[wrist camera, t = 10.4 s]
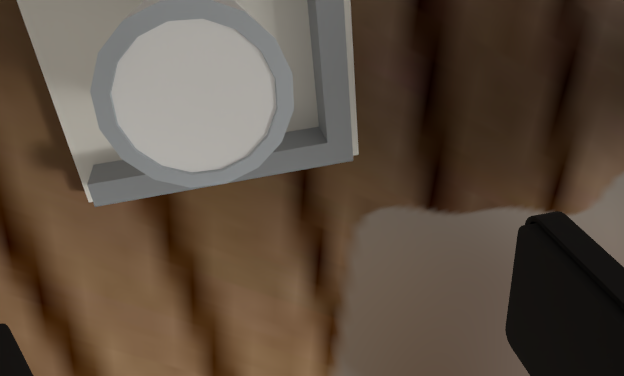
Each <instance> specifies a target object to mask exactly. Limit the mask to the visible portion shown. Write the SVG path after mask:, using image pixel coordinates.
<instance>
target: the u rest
mask: <svg viewBox="0 0 624 376" xmlns="http://www.w3.org/2000/svg"><path fill="white" fill-rule="evenodd" d="M143 1H144V0H17V3H18V6H19V9H20V11H21V14H22V17H23V20H24V22H25V25H26V28H27V31H28V34H29V36H30V39H31V42H32V45H33V48H34V50H35V53H36V56H37V59H38V62H39V64H40V67H41V70H42V73H43V76H44V78H45V81H46V84H47V87H48V90H49V92H50V95H51V98H52V101H53V104H54V106H55V109H56V112H57V115H58V118H59V120H60V123H61V126H62V129H63V132H64V134H65V137H66V140H67V143H68V145H69V148H70V151H71V154H72V157H73V159H74V162H75V165H76V168H77V171H78V173H79V176H80V179H81V182H82V185H83V187H84V190H85V193H86V196H87V199H88V201H89V202H93V203H94V206H95V207H97V206H103V205H108V204H114V203H119V202H125V201H131V200H136V199H142V198H147V197H153V196H159V195H164V194H170V193H175V192H181V191H187V190H192V189H198V188H203V187H209V186H201V187H193V188H189V187H185V186H180V185H176V184H171V183H167V182H162V181H158V180H154V179H152V178H151V177H149V176H148V175H146V174H144V173H143V172H141V171H140V170H138V169H136V168H135V167H133V166H132V165H130V164H128V163H127V162H125V161H124V160H122V159H121V157H120V156H119V155H118V153H117V152H116V151H115V149H114V148H113V147H112V145H111V144H110V143H109V141H108V140H107V139H106V137H105V136H104V135H103V133H102V132H101V131H100V129H99V126H98V122H97V118H96V113H95V109H94V105H93V101H92V97H91V93H90V90H91V85H92V80H93V75H94V70H95V65H96V60H97V55H98V52H99V51H100V49H101V48H102V47H103V46H104V44H105V43H106V42H107V40H108V39H109V38H110V36H111V35H112V34H113V32H114V31H115V30H116V28H117V27H118V26H119V25H120V23H121V22H122V21H123V20H124V19H125V18H126V17H127V16H128V15H129V14H130V13H131V12H132V11H133V10H134V9H135V8H137V7H138V6H139V5H140V4H141V3H142V2H143ZM234 1H235V2H237V3H238V4H239V5H240V6H241V7H242V8H243V9H244V10H246V11H247V12H248V13H249V14H250V15H251V16H252V17H253V18H254V19H255V20H256V21H257V22H258V23H259V24H261V25H262V26H263V27H264V28H265V29H266V30H267V31H268V32H269V33H270V34H271V35H272V36H273V37H274V38H276V40H277V42H278V44H279V46H280V49H281V51H282V53H283V55H284V57H285V59H286V61H287V63H288V65H289V67H290V69H291V71H292V74H293V95H294V111H293V114H292V116H291V119H290V122H289V124H288V127H287V130H286V132H285V135H284V138H283V141H282V142H281V144H280V145H279V146H278V147H277V148H276V149H275V150H274V151H273V152H272V153H271V154H270V156H269V157H268V158H267V159H266V160H265V161H264V162H263V163H262V164H261V165H260V166H259V168H257V169H255V170H253V171H251V172H249V173H247V174H245V175H243V176H241V177H239V178H237V179H235V180H233V181H231V182H237V181H242V180H248V179H254V178H259V177H265V176H270V175H276V174H282V173H287V172H293V171H298V170H304V169H310V168H315V167H321V166H326V165H332V164H338V163H343V162H349V161H353V156H354V155H359V151H358V132H357V114H356V95H355V76H354V58H353V39H352V20H351V2H350V0H234ZM231 182H229V183H231ZM218 185H220V184H218ZM210 186H215V185H210Z"/></svg>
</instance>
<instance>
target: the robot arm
mask: <svg viewBox="0 0 624 376" xmlns="http://www.w3.org/2000/svg"><path fill="white" fill-rule="evenodd" d="M507 313H508V314H507V321H506V335H507V339H508V342H509V344H510V346H511V347H512V349H513V351H514V352H515V354H516V355H517V356H518V358H519V359H520V361H521V362H522V364H523V365H524V367H525V368H526V370H527V371H528V373H529V374H530V376H624V267H623V266H622V265H620V264H619V263H618V262H617V261H616V260H615V259H614V258H613V257H612V256H611V255H609V254H608V253H607V252H606V251H605V250H604V249H603V248H602V247H601V246H600V245H598V244H597V243H596V242H595V241H594V240H593V239H592V238H591V237H590V236H588V235H587V234H586V233H585V232H584V231H583V230H582V229H581V228H580V227H578V226H577V225H576V224H575V223H574V222H573V221H572V220H571V219H570V218H569V217H568V216H566V215H565V214H564V213H562V212H558V211H557V212H551V213H546V214H541V215H535V216H531V217H529V218H528V219H527V220H526V223H525V225H523V226H521V227H520V228H519V230H518V236H517V244H516V251H515V259H514V266H513V274H512V282H511V290H510V297H509V305H508V312H507ZM0 376H33V374H32V372H31V370H30V368H29V366H28V364H27V362H26V360H25V358H24V356H23V354H22V352H21V350H20V348H19V346H18V344H17V342H16V341H15V339H14V337H13V335H12V333H11V331H10V329H9V327H8V326H7V325H6V324H0Z"/></svg>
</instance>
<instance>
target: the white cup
mask: <svg viewBox="0 0 624 376" xmlns="http://www.w3.org/2000/svg"><path fill="white" fill-rule="evenodd" d="M90 93H91V97H92V101H93V105H94V109H95V113H96V118H97V122H98V126H99V129H100V131H101V132H102V133H103V135H104V136H105V137H106V139H107V140H108V141H109V143H110V144H111V145H112V147H113V148H114V149H115V151H116V152H117V153H118V155H119V156H120V157H121V159H122V160H124V161H125V162H127V163H128V164H130V165H132V166H133V167H135V168H136V169H138V170H140V171H141V172H143V173H144V174H146V175H148V176H149V177H151V178H152V179H154V180H158V181H162V182H167V183H171V184H176V185H180V186H185V187H189V188H193V187H201V186H210V185H218V184H226V183H229V182H231V181H233V180H235V179H237V178H239V177H241V176H243V175H245V174H247V173H249V172H251V171H253V170H255V169H257V168H259V166H260V165H261V164H262V163H263V162H264V161H265V160H266V159H267V158H268V157H269V156H270V154H271V153H272V152H273V151H274V150H275V149H276V148H277V147H278V146H279V145H280V144H281V142H282V141H283V138H284V135H285V132H286V130H287V127H288V124H289V122H290V119H291V116H292V114H293V111H294V95H293V74H292V71H291V69H290V67H289V65H288V63H287V61H286V59H285V57H284V55H283V53H282V51H281V49H280V46H279V44H278V42H277V40H276V38H274V37H273V36H272V35H271V34H270V33H269V32H268V31H267V30H266V29H265V28H264V27H263V26H262V25H261V24H259V23H258V22H257V21H256V20H255V19H254V18H253V17H252V16H251V15H250V14H249V13H248V12H247V11H246V10H244V9H243V8H242V7H241V6H240V5H239V4H238V3H237V2H235V1H234V0H144V1H143V2H142V3H141V4H140V5H139V6H138V7H137V8H135V9H134V10H133V11H132V12H131V13H130V14H129V15H128V16H127V17H126V18H125V19H124V20H123V21H122V22H121V23H120V25H119V26H118V27H117V28H116V30H115V31H114V32H113V34H112V35H111V36H110V38H109V39H108V40H107V42H106V43H105V44H104V46H103V47H102V48H101V49H100V51H99V52H98V55H97V60H96V65H95V70H94V75H93V80H92V85H91V90H90Z"/></svg>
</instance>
